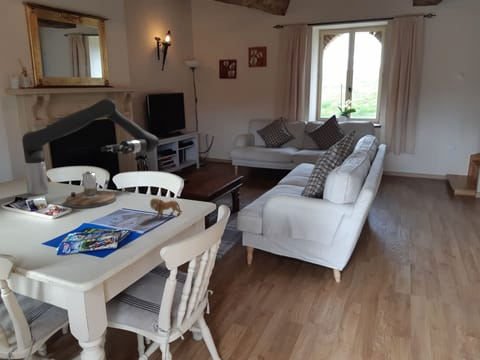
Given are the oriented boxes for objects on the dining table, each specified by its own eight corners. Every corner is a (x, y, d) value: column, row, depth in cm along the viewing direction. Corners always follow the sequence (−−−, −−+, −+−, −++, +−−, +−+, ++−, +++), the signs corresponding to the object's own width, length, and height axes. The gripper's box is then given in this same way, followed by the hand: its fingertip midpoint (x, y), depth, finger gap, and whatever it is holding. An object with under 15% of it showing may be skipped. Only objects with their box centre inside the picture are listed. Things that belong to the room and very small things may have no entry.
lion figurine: (153, 220, 158) (151, 200, 156) (149, 216, 163) (147, 197, 161) (184, 214, 166) (183, 195, 164) (179, 211, 170) (179, 192, 168)
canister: (81, 198, 182) (78, 173, 179) (87, 194, 189) (85, 170, 186) (94, 198, 182) (92, 173, 179) (100, 194, 189) (98, 170, 186)
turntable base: (55, 207, 175) (55, 205, 175) (79, 194, 198) (79, 192, 198) (104, 208, 174) (104, 206, 173) (123, 194, 197) (123, 193, 197)
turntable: (56, 205, 175) (56, 199, 174) (79, 192, 198) (79, 186, 197) (103, 206, 174) (103, 199, 173) (121, 193, 196) (121, 187, 196)
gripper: (120, 139, 207) (97, 141, 193) (139, 141, 200) (116, 144, 186) (121, 152, 209) (98, 156, 195) (140, 154, 202) (117, 158, 188)
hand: (107, 150), depth 191 cm, fingers open, 8 cm apart
